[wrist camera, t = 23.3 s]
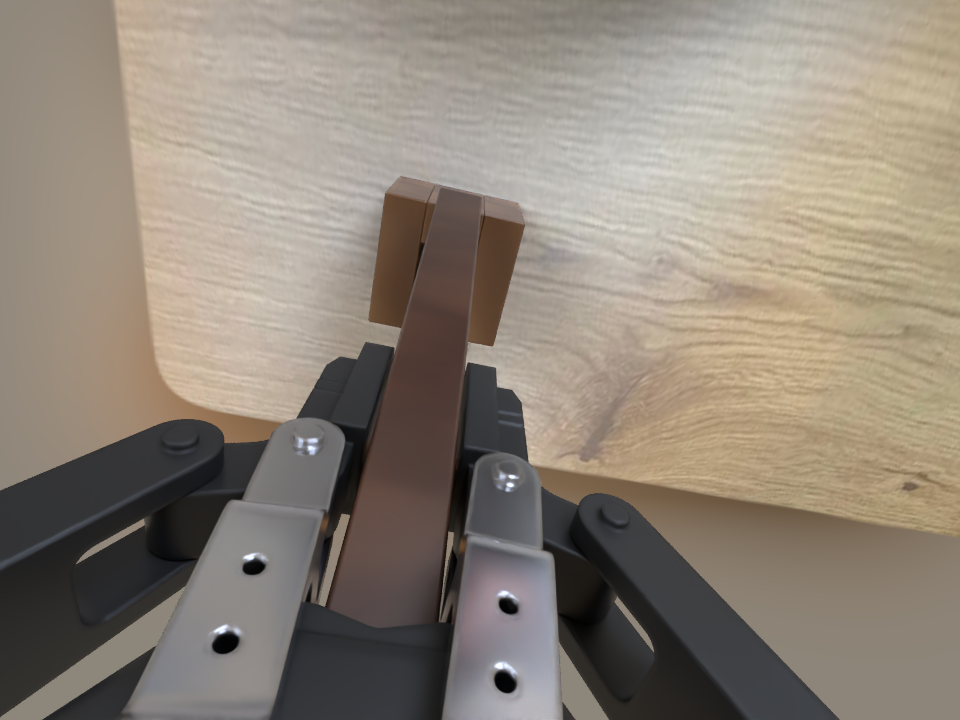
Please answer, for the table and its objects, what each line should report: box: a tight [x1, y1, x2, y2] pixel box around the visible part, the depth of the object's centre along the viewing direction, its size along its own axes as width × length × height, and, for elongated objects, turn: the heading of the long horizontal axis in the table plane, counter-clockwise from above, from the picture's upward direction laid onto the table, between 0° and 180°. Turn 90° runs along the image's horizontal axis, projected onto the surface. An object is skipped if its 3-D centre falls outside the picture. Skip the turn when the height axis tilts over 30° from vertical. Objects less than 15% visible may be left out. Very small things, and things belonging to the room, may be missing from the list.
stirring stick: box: [325, 188, 482, 628], centre depth 13 cm, size 2×2×16 cm
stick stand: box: [368, 176, 525, 346], centre depth 23 cm, size 5×5×4 cm
